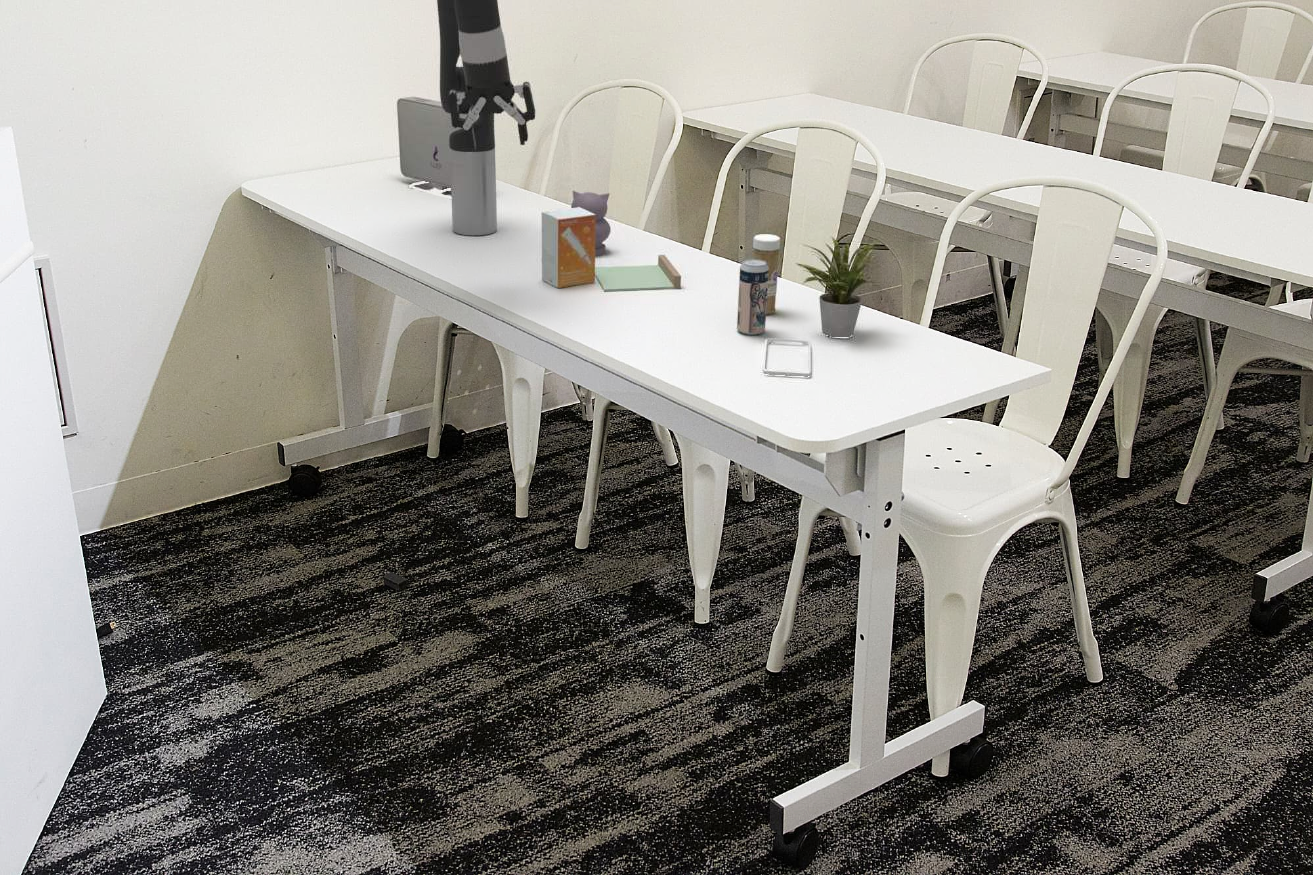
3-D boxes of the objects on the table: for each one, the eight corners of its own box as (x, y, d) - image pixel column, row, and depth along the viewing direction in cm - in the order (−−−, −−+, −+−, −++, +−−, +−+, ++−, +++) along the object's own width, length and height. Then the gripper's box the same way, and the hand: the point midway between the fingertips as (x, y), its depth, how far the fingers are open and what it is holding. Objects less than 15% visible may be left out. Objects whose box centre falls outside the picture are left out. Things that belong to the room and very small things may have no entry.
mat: (591, 269, 251) (591, 257, 250) (664, 266, 254) (664, 254, 253) (604, 291, 239) (604, 278, 238) (680, 288, 242) (680, 275, 241)
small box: (558, 289, 240) (557, 219, 234) (541, 280, 244) (540, 211, 239) (596, 282, 244) (596, 213, 238) (578, 274, 249) (578, 206, 243)
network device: (393, 184, 311) (388, 98, 303) (422, 178, 317) (418, 94, 309) (467, 203, 296) (464, 113, 288) (495, 197, 302) (493, 108, 294)
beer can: (756, 338, 218) (760, 268, 213) (731, 332, 220) (734, 263, 215) (770, 330, 221) (774, 261, 217) (745, 325, 224) (748, 256, 219)
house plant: (833, 312, 231) (841, 221, 224) (898, 332, 222) (908, 238, 216) (780, 330, 222) (787, 235, 215) (845, 351, 213) (854, 253, 206)
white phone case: (810, 381, 202) (809, 348, 215) (811, 373, 201) (810, 340, 215) (762, 378, 202) (764, 345, 216) (762, 370, 202) (765, 337, 215)
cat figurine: (562, 255, 260) (562, 195, 255) (575, 245, 267) (575, 186, 262) (603, 259, 258) (604, 199, 253) (615, 249, 265) (616, 190, 260)
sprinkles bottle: (772, 317, 228) (777, 241, 223) (746, 313, 229) (751, 238, 224) (778, 309, 232) (783, 234, 227) (753, 306, 233) (757, 232, 228)
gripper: (526, 42, 222) (539, 134, 231) (442, 50, 222) (458, 141, 231) (525, 57, 216) (538, 150, 225) (439, 65, 216) (455, 158, 225)
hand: (498, 146), depth 228 cm, fingers open, 8 cm apart
